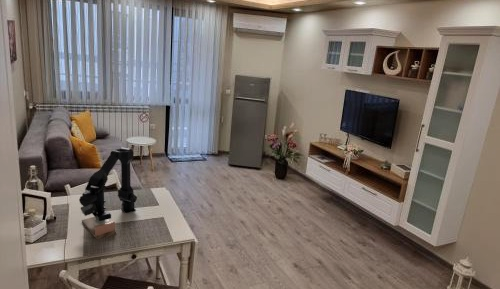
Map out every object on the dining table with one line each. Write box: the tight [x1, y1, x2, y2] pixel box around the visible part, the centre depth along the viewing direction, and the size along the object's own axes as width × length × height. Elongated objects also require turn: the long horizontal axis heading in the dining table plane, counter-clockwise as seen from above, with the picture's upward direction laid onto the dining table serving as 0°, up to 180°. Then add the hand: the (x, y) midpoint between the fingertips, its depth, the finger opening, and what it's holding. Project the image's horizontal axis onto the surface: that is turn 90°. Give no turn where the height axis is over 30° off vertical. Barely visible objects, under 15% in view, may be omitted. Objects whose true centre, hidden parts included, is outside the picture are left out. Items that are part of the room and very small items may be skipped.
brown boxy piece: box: [81, 216, 117, 240], centre depth 187 cm, size 10×22×6 cm, turn 44°
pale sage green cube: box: [95, 219, 111, 226], centre depth 183 cm, size 6×5×5 cm
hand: (98, 224), depth 187 cm, fingers closed
